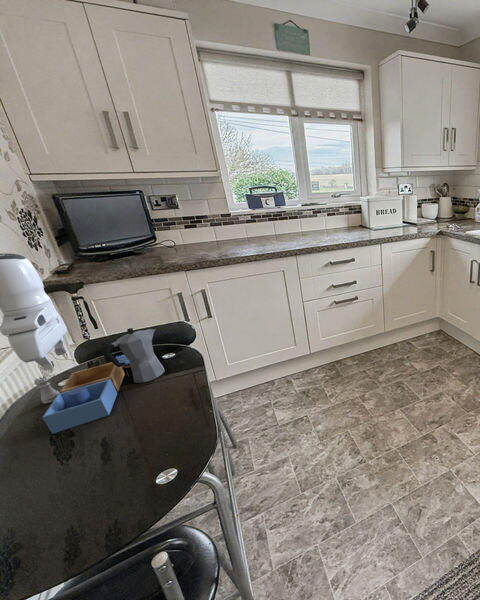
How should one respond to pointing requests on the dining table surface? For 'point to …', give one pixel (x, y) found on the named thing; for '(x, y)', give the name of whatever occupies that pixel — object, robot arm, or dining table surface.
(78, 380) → the oak bin
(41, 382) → the rook chess piece
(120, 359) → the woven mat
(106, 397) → the blue bin
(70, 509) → the dining table surface
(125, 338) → the coffeepot
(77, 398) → the blue peg
